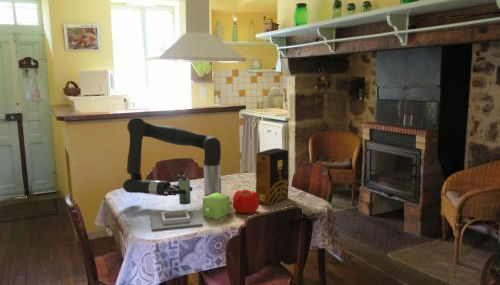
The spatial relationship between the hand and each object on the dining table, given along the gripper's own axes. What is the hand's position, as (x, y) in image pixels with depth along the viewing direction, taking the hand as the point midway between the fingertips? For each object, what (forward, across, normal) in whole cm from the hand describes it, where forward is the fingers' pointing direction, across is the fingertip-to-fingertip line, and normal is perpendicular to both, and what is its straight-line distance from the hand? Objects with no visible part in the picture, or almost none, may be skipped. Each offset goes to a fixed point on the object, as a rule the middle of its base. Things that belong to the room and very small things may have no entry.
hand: (189, 190), depth 202 cm
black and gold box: (+35, +30, +11) cm, 47 cm away
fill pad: (+1, -16, +10) cm, 19 cm away
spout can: (-3, 0, +6) cm, 7 cm away
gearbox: (+16, -3, +11) cm, 19 cm away
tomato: (+28, +7, +11) cm, 31 cm away
